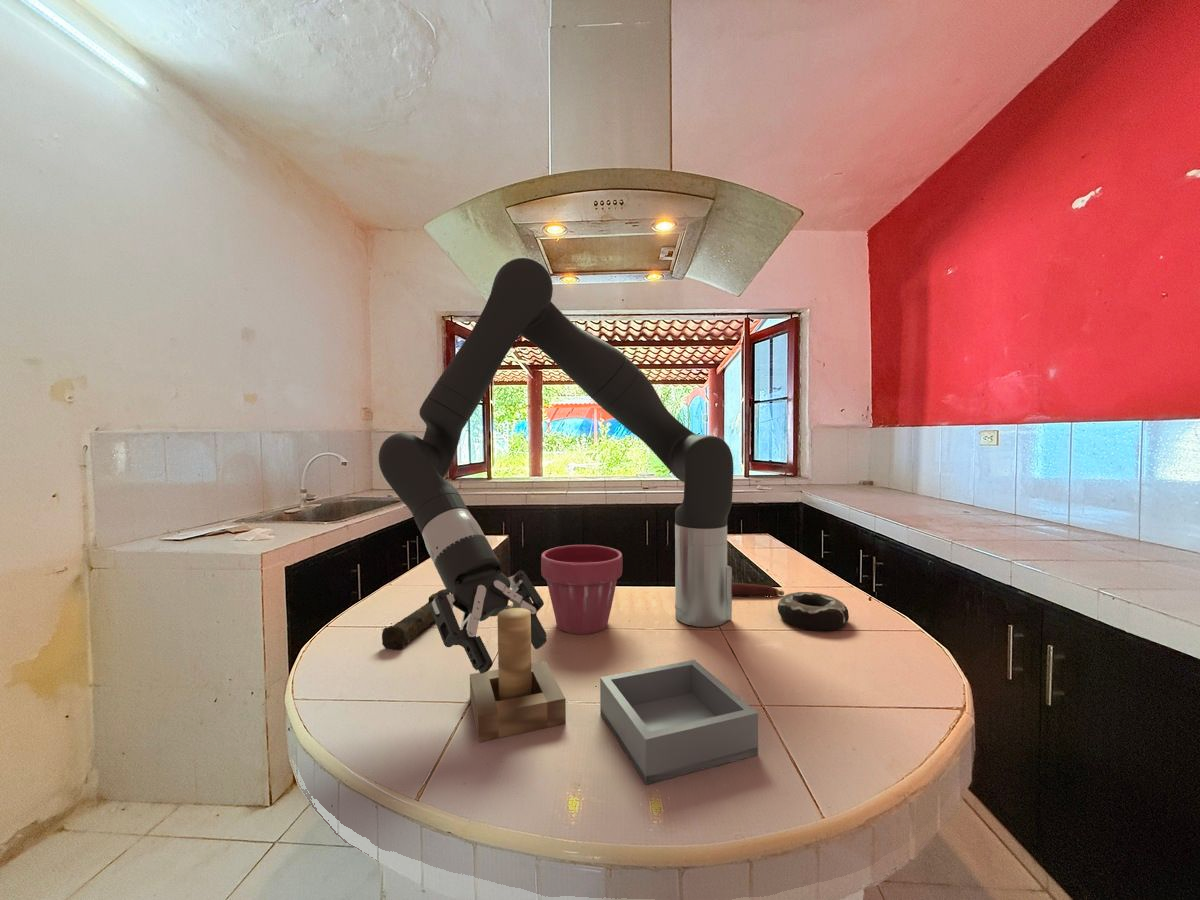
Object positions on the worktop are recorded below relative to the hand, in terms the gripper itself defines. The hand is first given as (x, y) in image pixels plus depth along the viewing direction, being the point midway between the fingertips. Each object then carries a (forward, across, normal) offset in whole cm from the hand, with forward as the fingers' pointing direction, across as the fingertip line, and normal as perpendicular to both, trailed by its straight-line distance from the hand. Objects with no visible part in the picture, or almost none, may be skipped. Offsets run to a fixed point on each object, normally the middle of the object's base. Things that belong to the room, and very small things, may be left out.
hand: (516, 656), depth 61 cm
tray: (+17, +8, -8) cm, 20 cm away
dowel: (+5, 0, +5) cm, 7 cm away
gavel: (+6, +56, +4) cm, 57 cm away
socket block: (+5, 0, +5) cm, 7 cm away
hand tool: (-18, +6, +29) cm, 35 cm away
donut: (+18, +53, -8) cm, 56 cm away
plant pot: (-4, +25, +14) cm, 29 cm away
